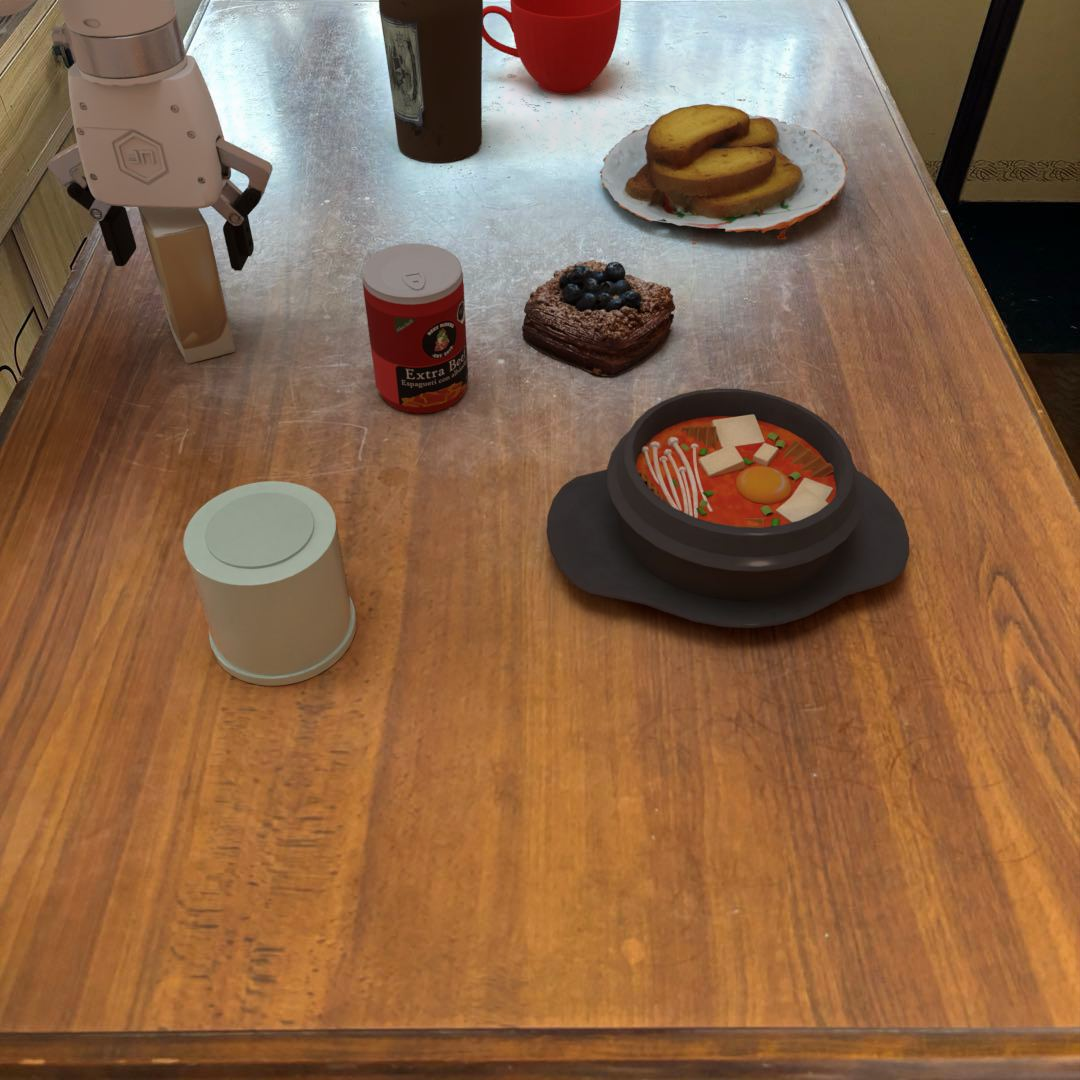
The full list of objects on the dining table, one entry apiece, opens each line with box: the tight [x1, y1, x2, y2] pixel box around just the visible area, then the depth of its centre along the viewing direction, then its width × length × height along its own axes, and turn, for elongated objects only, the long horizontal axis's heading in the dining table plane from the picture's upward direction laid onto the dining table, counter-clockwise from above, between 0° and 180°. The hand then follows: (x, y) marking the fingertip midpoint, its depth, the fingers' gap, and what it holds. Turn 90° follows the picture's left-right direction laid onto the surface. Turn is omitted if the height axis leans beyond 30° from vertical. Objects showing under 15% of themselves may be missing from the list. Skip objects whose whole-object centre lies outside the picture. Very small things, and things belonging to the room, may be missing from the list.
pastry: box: [521, 259, 676, 377], centre depth 95 cm, size 11×12×6 cm
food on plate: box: [599, 103, 849, 245], centre depth 114 cm, size 25×25×7 cm
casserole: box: [546, 387, 910, 629], centre depth 75 cm, size 25×19×8 cm
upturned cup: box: [182, 480, 357, 687], centre depth 69 cm, size 9×9×9 cm
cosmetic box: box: [137, 207, 236, 365], centre depth 92 cm, size 6×4×12 cm
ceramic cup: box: [482, 0, 622, 95], centre depth 132 cm, size 13×17×10 cm
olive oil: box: [378, 0, 484, 163], centre depth 115 cm, size 11×11×25 cm
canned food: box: [361, 243, 469, 414], centre depth 87 cm, size 8×8×11 cm
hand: (184, 259), depth 90 cm, fingers open, 9 cm apart
